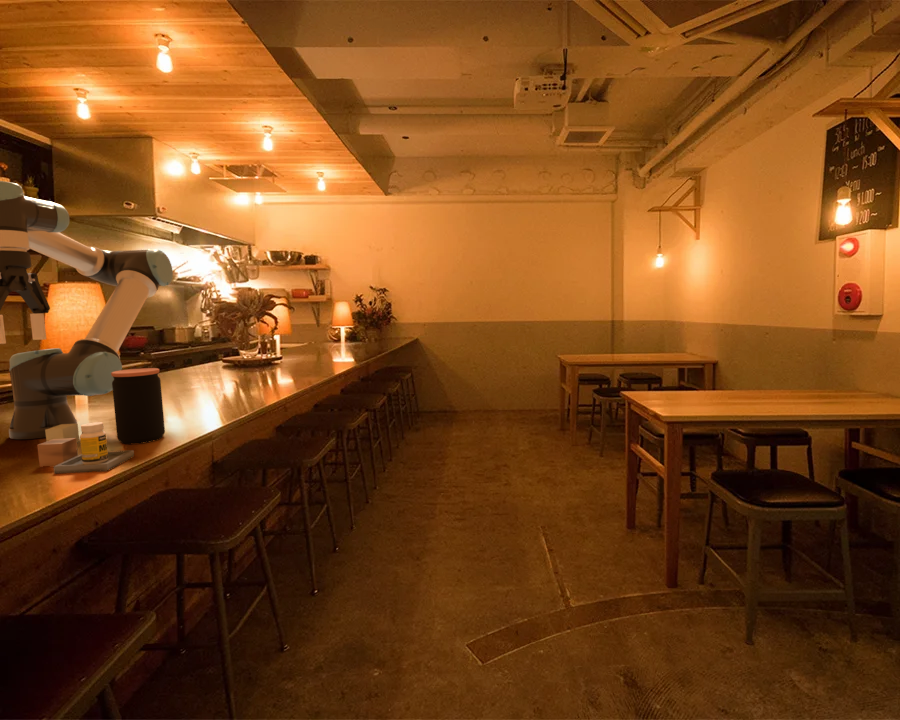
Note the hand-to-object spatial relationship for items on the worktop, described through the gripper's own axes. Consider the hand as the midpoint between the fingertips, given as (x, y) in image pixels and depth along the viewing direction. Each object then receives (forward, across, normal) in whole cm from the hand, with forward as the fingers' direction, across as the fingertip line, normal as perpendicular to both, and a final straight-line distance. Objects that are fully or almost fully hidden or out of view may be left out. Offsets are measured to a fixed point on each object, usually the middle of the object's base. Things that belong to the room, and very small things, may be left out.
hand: (20, 341), depth 125 cm
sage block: (+27, -4, +5) cm, 27 cm away
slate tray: (+26, +16, +23) cm, 38 cm away
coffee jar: (+27, -7, +22) cm, 35 cm away
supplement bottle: (+26, +16, +23) cm, 38 cm away
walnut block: (+27, +12, +14) cm, 32 cm away
